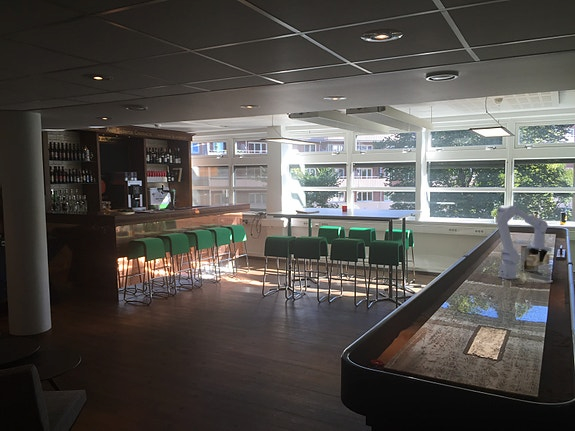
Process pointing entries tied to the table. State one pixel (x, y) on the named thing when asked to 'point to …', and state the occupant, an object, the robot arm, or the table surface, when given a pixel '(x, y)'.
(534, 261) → the ash beam
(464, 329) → the table surface
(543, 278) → the balance stand
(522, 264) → the coffee box
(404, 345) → the table surface
